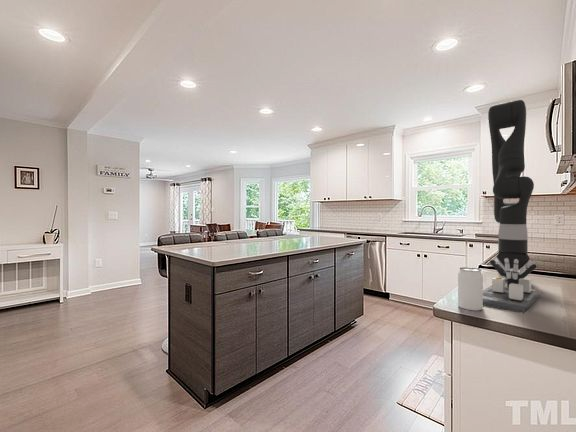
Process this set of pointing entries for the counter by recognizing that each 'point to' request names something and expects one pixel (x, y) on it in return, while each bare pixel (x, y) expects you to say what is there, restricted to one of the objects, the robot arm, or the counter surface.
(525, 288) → the block
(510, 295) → the block
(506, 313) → the counter surface
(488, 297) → the panel
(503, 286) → the block
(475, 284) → the can
